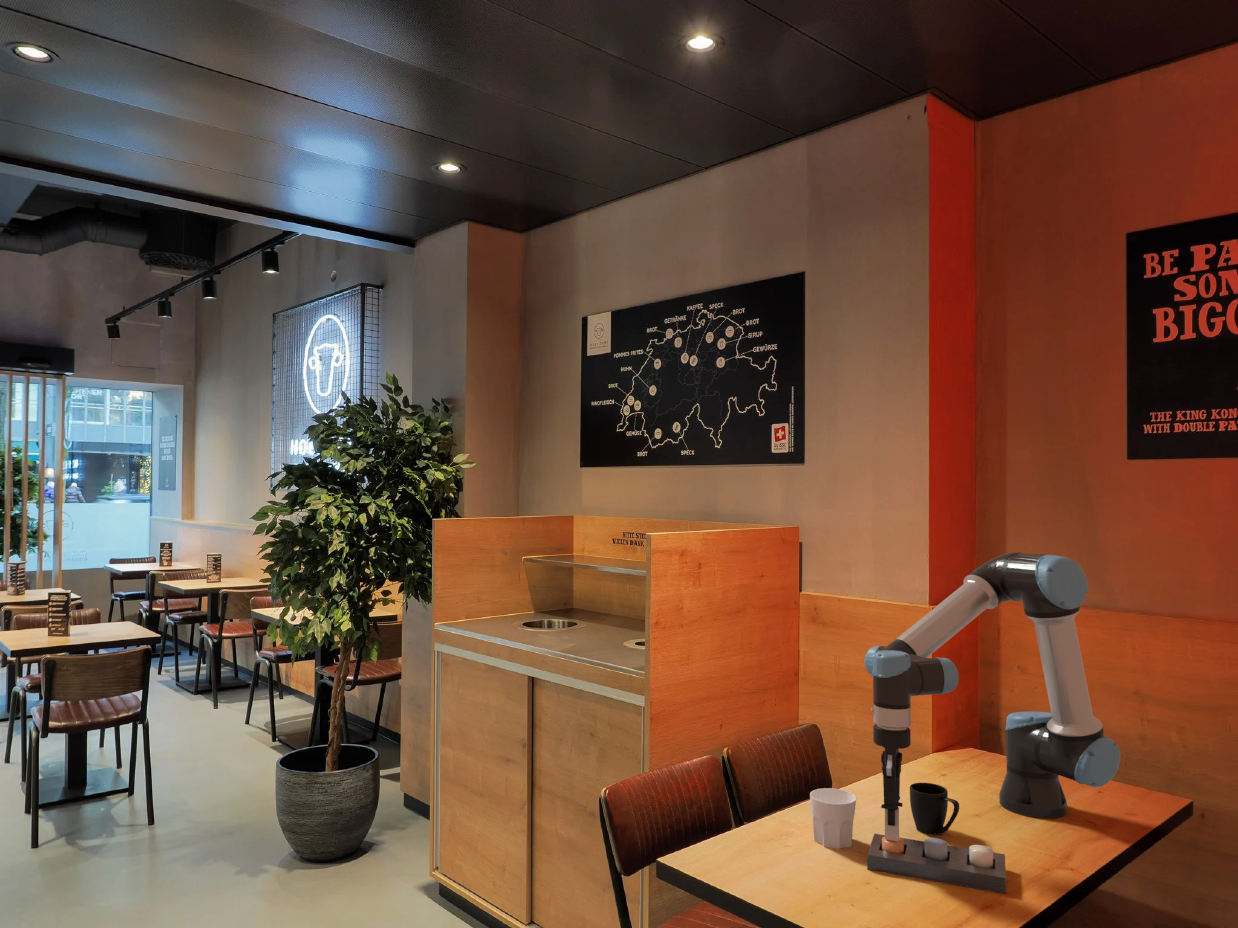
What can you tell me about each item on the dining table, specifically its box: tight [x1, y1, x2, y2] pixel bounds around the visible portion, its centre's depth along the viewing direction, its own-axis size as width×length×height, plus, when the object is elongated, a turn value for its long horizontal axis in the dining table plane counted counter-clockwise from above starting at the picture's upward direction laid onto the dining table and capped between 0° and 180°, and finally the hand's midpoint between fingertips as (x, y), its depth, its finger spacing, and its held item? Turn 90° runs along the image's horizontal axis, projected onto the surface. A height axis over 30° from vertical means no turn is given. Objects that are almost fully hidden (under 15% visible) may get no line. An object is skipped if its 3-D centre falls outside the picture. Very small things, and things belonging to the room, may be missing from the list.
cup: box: [809, 787, 857, 850], centre depth 187 cm, size 10×10×10 cm
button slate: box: [924, 837, 948, 861], centre depth 173 cm, size 4×4×4 cm
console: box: [866, 833, 1007, 895], centre depth 173 cm, size 26×12×3 cm, turn 66°
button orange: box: [882, 837, 904, 854], centre depth 177 cm, size 4×4×4 cm
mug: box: [909, 782, 960, 836], centre depth 192 cm, size 8×12×10 cm
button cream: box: [968, 844, 994, 869], centre depth 170 cm, size 4×4×4 cm
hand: (891, 838), depth 177 cm, fingers closed
